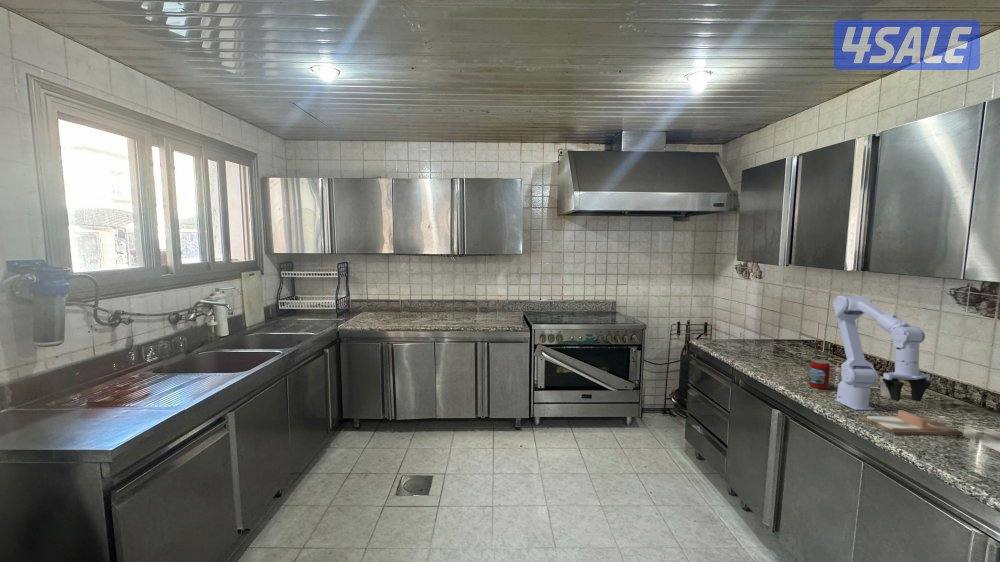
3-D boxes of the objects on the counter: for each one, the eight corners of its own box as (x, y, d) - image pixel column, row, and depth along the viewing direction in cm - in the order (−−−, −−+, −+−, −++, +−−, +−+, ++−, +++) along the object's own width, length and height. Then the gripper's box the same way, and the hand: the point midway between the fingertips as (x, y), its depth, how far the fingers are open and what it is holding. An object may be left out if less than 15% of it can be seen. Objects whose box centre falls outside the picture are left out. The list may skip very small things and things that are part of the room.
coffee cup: (887, 393, 170) (890, 370, 168) (904, 399, 163) (907, 376, 162) (872, 393, 169) (874, 370, 168) (888, 399, 162) (891, 376, 161)
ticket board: (860, 418, 144) (860, 414, 144) (922, 418, 145) (923, 414, 145) (893, 434, 132) (894, 430, 132) (961, 434, 133) (962, 430, 133)
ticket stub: (895, 417, 143) (896, 409, 142) (911, 417, 143) (912, 409, 143) (922, 429, 134) (923, 421, 133) (939, 429, 134) (940, 421, 134)
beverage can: (804, 385, 177) (807, 359, 176) (815, 383, 179) (818, 358, 178) (821, 390, 171) (823, 364, 170) (831, 389, 173) (834, 362, 172)
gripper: (898, 363, 131) (897, 403, 131) (940, 364, 131) (939, 404, 131) (877, 359, 138) (876, 397, 138) (917, 359, 138) (916, 398, 138)
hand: (905, 400), depth 135 cm, fingers open, 7 cm apart
